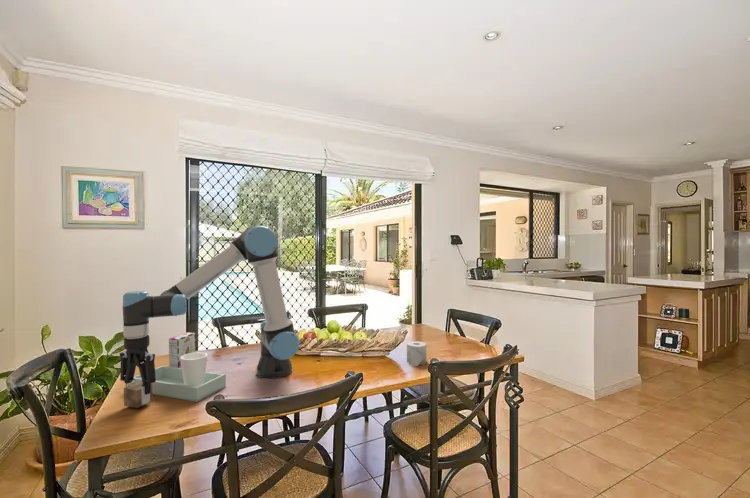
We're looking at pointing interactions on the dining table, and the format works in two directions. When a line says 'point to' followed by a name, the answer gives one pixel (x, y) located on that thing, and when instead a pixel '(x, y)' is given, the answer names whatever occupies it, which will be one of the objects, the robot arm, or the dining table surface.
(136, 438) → the dining table surface
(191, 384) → the foam cup
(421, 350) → the toilet tissue
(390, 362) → the dining table surface
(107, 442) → the dining table surface
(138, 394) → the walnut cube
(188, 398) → the tote
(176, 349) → the candy bar box
